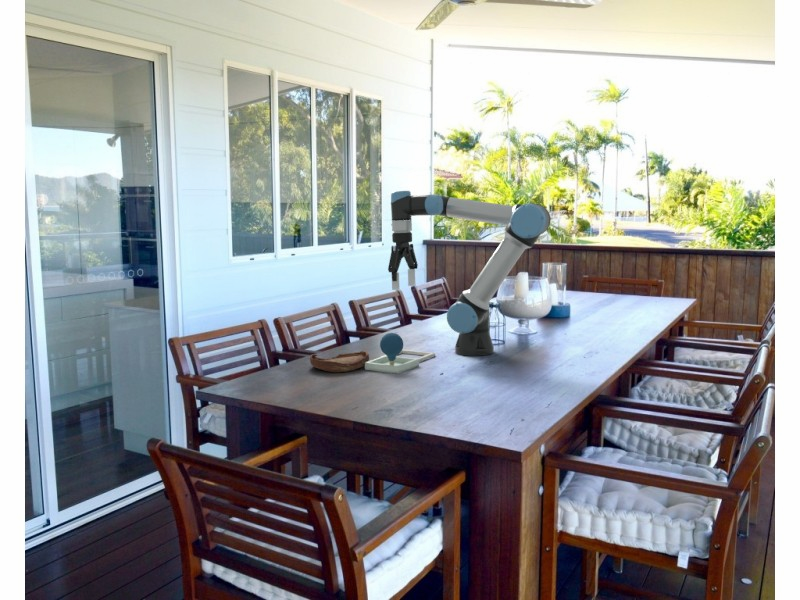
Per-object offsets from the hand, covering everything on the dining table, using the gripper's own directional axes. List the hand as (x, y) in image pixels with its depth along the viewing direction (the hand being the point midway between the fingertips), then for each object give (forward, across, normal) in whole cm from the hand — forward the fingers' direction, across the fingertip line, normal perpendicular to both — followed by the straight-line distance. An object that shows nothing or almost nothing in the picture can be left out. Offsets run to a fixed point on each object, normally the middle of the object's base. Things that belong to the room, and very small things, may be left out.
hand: (404, 287), depth 266 cm
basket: (+27, +26, -14) cm, 40 cm away
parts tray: (+26, +20, +4) cm, 34 cm away
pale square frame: (+26, +3, +2) cm, 27 cm away
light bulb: (+26, +20, +4) cm, 33 cm away
